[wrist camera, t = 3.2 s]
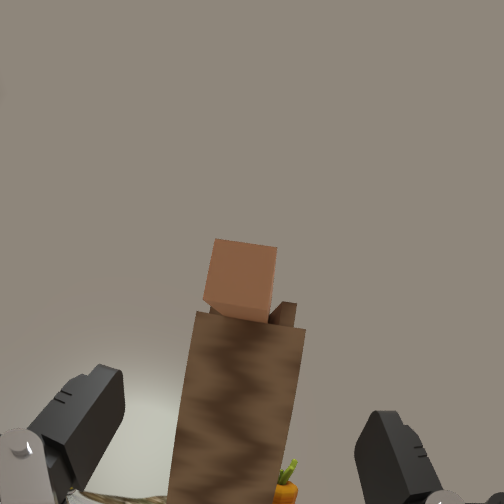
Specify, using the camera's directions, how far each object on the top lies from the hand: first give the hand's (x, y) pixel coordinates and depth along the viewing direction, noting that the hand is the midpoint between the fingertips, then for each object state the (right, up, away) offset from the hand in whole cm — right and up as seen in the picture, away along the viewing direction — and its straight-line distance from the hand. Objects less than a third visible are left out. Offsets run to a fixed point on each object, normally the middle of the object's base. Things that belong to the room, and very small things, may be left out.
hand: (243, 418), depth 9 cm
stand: (-5, -33, +14) cm, 36 cm away
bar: (0, -1, +18) cm, 18 cm away
